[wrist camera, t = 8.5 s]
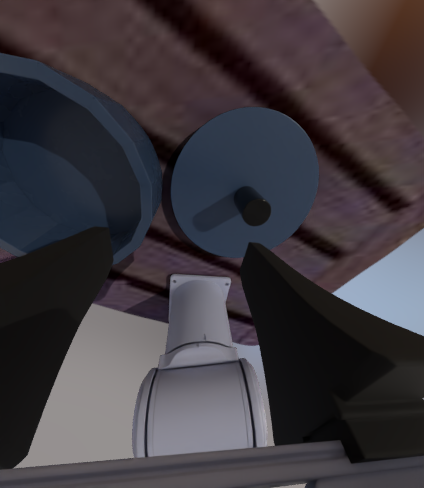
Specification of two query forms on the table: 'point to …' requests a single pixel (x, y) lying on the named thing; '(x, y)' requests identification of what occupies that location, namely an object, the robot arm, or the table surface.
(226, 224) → the lid
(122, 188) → the pot
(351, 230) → the table surface
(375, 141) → the table surface
